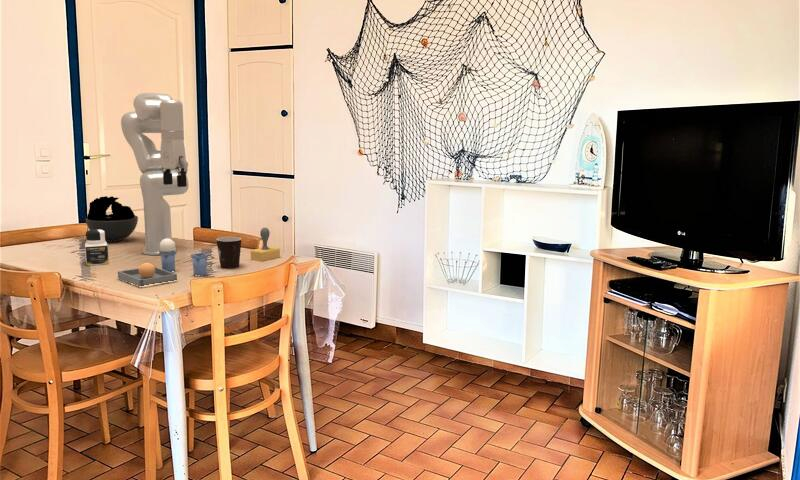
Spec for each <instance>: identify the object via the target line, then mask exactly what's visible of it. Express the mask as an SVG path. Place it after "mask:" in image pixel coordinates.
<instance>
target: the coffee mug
mask: <svg viewBox="0 0 800 480" xmlns="http://www.w3.org/2000/svg"><path fill="white" fill-rule="evenodd" d="M215 241H216V246H217V247H216V248H217V252H218V260H219V267H220V268H221V269H225V270H230V269H237V268H240V259H241V252H242V251H241V249H242V237H238V236H223V237H219V238H216V240H215Z"/></svg>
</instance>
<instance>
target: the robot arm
mask: <svg viewBox="0 0 800 480" xmlns="http://www.w3.org/2000/svg"><path fill="white" fill-rule="evenodd" d="M133 108H134V111H129V112H126V113H124V114H123V115H122V116H121V119H120V126H121V131H122V134H123V137H124V139H125V141H126V142H127V143H128V145H129V146H130V148H131V150H132V152H133V155H134V158H135V161H136V164H137V167H138V169H139V171H140V173H141V175H140V177H139V186H140V189H141V194H142V195H141V196H142V202H143V203H142V204H143V215H144V233H145V241H144V244H145V247H144V248H143V249H142V250H141V253H142V255H143V254H144V255H147V256H148V255H150V256H161V254H159V251H161V249H160V242H161V241H162V240H163V239H167V238H168V239H171V240H173V236H172V219H171V207H170V204H169V203H168V201H167V200H166V199H165V198H164V196H177V195H184V194H186V193H187V192H188V190H189V179H188V167H189V162H188V161H187V159H186V158H187V157H186V147H185V142H184V141H185V130H184V129H185V127H184V126H185V125H184V105H183V103H182V101H181V100H177V99H173V97H172V96H171V95H169V94H167V93H158V92H157V93H155V92H144V93H143V92H142V93H139V94H137V95H136V96H135V98H133ZM146 134H160V136H161V137H160V138H161V141H160V148H159V149H160V150H158V149H157V147H156V144H155V142H154V141H153V140H152V139H151V138H150V137H148V136H147V135H146ZM173 251H176V252H177V247H175V249H174V250H173Z"/></svg>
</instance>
